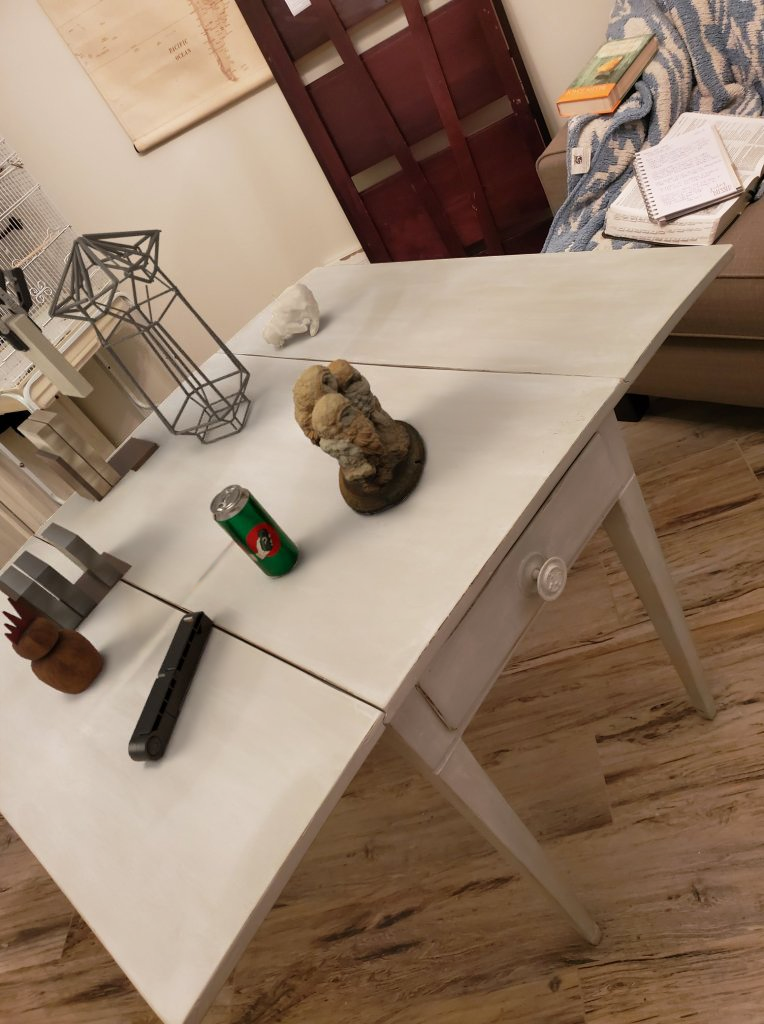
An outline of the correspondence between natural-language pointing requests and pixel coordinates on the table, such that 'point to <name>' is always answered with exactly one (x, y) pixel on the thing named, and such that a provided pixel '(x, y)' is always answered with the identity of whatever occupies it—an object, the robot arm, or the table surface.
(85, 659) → the wooden figurine
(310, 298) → the white lumpy piece
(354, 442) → the tan stone sculpture
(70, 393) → the cream rectangular block
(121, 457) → the wooden book holder
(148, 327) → the geometric lantern
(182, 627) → the tablet stand
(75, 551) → the grey rack
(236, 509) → the soda can
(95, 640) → the table surface
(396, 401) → the table surface
